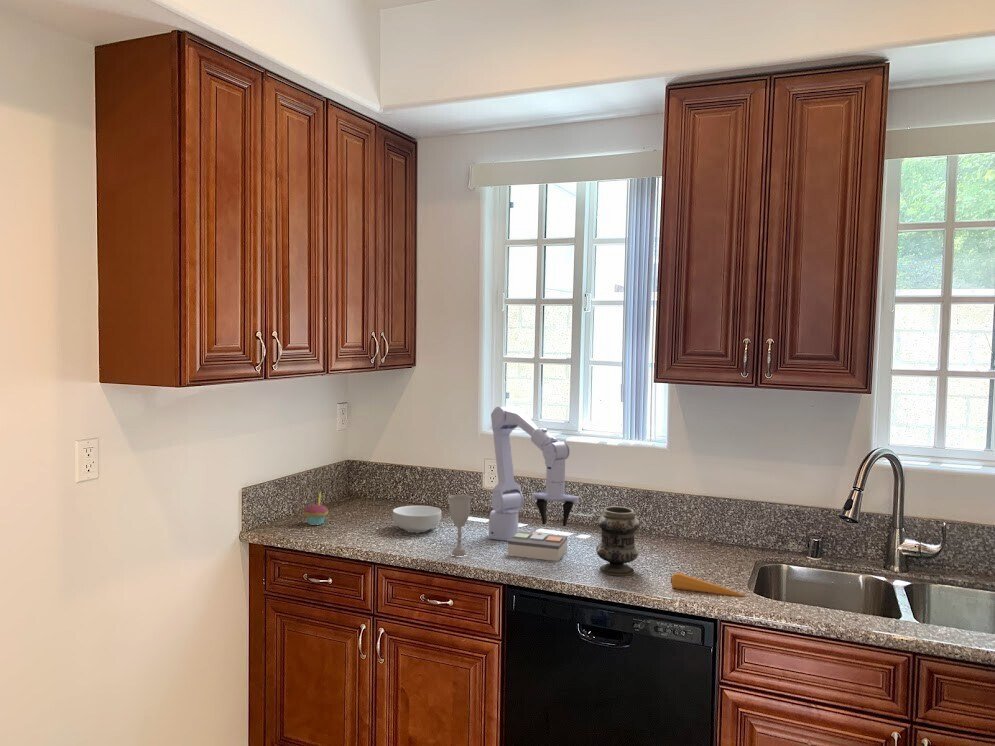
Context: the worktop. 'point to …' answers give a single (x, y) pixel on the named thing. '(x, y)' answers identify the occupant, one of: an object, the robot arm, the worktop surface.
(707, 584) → the carrot
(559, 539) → the terracotta key
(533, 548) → the keypad
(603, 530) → the apothecary jar
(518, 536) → the sage key
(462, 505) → the chalice
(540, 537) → the blue key
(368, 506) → the worktop surface
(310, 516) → the cupcake
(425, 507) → the cereal bowl
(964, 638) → the worktop surface
